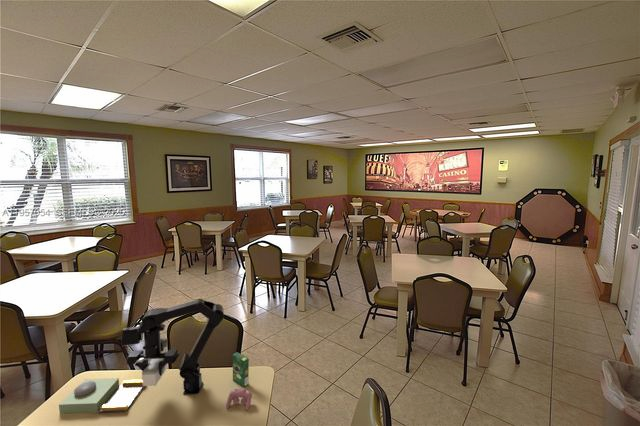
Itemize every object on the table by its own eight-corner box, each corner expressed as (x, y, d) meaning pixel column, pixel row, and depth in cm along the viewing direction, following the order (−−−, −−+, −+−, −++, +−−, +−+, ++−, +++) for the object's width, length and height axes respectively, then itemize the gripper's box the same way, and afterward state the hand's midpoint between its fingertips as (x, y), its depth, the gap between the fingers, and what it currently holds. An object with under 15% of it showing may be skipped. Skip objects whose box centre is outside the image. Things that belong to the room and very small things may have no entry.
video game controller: (251, 407, 119) (253, 388, 122) (248, 411, 115) (250, 391, 117) (228, 405, 120) (231, 386, 123) (224, 409, 116) (227, 389, 118)
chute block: (165, 370, 126) (164, 357, 125) (155, 385, 117) (154, 372, 116) (153, 370, 125) (152, 358, 124) (142, 386, 116) (141, 372, 115)
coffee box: (249, 384, 131) (249, 357, 129) (244, 388, 128) (244, 360, 126) (237, 377, 135) (236, 351, 133) (232, 380, 133) (231, 354, 131)
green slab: (119, 386, 128) (118, 375, 127) (97, 412, 114) (96, 399, 113) (85, 387, 126) (84, 376, 126) (59, 413, 113) (58, 401, 112)
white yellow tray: (145, 384, 129) (145, 379, 129) (125, 412, 114) (125, 406, 114) (122, 385, 128) (121, 380, 128) (99, 413, 113) (98, 407, 113)
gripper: (183, 329, 127) (184, 362, 129) (139, 330, 126) (141, 363, 128) (172, 344, 116) (174, 379, 118) (124, 345, 115) (126, 381, 117)
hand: (154, 375), depth 121 cm, fingers closed on chute block, 5 cm apart
